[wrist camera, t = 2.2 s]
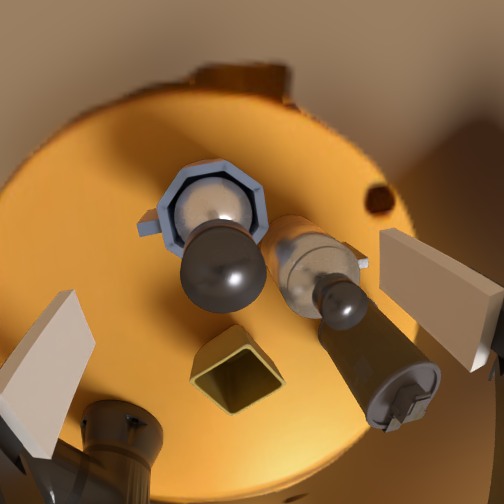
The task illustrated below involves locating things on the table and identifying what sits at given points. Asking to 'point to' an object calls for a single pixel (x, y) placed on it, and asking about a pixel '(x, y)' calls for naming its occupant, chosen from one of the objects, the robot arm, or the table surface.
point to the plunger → (218, 246)
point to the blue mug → (164, 213)
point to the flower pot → (234, 371)
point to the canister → (382, 369)
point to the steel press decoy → (315, 271)
